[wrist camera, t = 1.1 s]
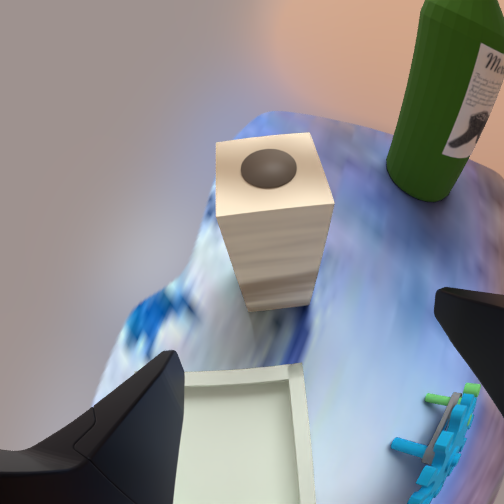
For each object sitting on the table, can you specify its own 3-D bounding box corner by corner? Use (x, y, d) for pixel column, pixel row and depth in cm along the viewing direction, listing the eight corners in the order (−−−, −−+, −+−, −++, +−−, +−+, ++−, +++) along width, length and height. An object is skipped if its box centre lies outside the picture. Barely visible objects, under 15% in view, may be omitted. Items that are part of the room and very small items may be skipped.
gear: (427, 521, 10) (413, 519, 7) (374, 501, 15) (334, 484, 12) (484, 411, 15) (489, 355, 12) (432, 403, 20) (416, 348, 17)
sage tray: (313, 514, 14) (317, 528, 11) (163, 514, 14) (149, 525, 12) (299, 367, 20) (302, 362, 18) (151, 375, 21) (134, 371, 18)
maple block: (309, 305, 23) (334, 201, 12) (248, 312, 23) (215, 215, 12) (299, 252, 25) (309, 131, 14) (244, 258, 26) (215, 141, 14)
